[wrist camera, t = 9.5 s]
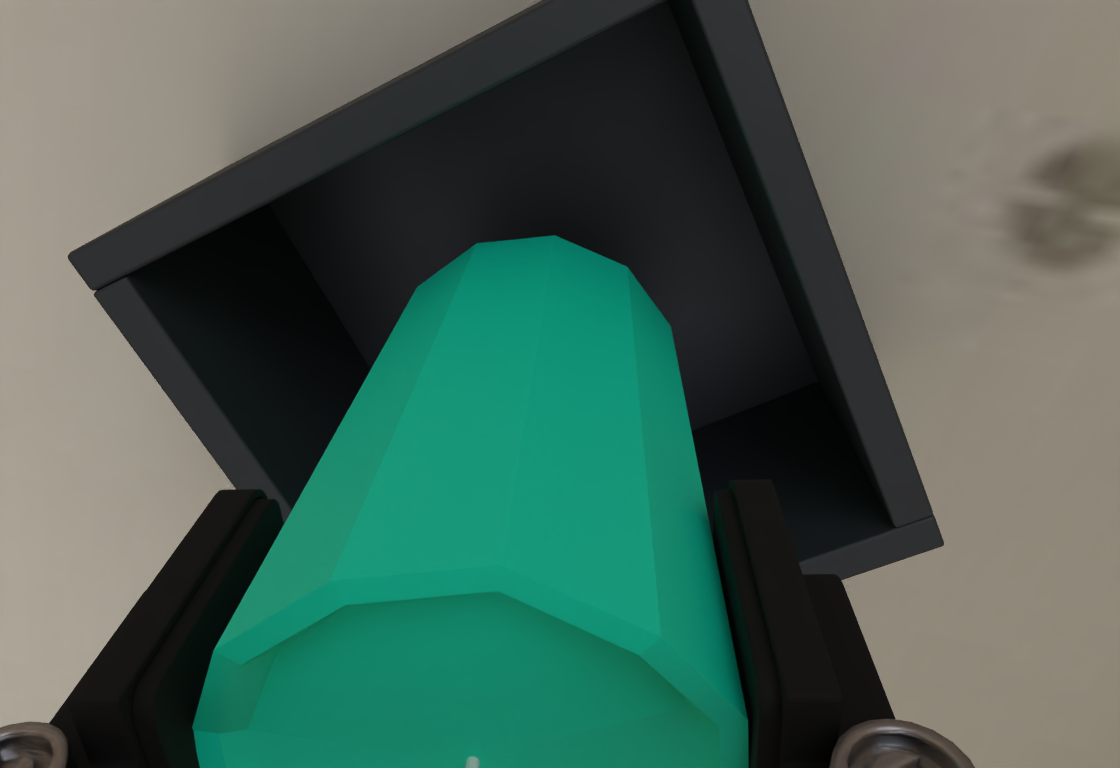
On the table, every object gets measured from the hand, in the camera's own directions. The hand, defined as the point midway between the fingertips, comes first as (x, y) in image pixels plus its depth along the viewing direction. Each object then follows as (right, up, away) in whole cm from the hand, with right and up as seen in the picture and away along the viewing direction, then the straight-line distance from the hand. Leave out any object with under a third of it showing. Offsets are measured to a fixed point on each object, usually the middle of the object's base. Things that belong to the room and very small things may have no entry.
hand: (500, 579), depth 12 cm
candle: (0, +3, +6) cm, 7 cm away
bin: (+1, +5, +12) cm, 13 cm away
